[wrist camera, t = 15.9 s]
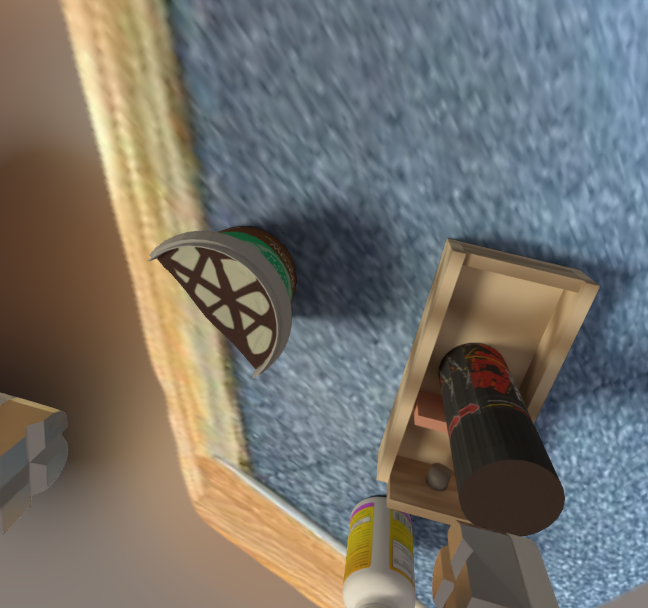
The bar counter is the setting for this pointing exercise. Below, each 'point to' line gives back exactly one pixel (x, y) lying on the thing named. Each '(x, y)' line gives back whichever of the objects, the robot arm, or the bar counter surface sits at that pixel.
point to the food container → (237, 286)
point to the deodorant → (496, 445)
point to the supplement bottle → (379, 557)
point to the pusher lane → (487, 328)
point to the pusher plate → (430, 412)
